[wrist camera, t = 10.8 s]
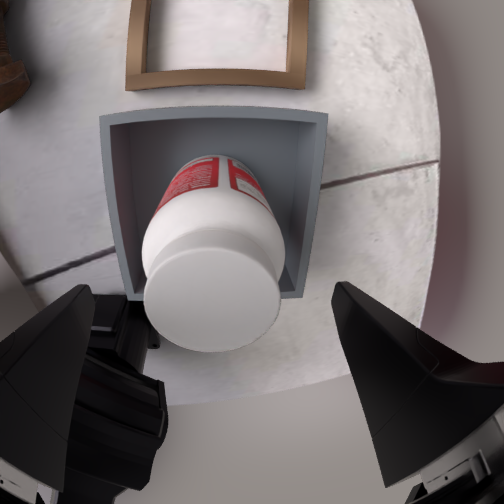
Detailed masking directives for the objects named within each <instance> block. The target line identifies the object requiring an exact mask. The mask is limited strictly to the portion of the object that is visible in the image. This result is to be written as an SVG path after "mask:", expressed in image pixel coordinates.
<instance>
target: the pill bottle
mask: <svg viewBox="0 0 504 504" xmlns="http://www.w3.org/2000/svg"><path fill="white" fill-rule="evenodd" d="M142 261H143V267H144V271H145V274H146V277H147V282H146V285H145V289H144V307H145V311H146V314H147V317H148V319H149V320H150V322H151V324H152V325H153V327H154V328H155V329H156V330H157V331H158V332H159V333H160V334H161V335H162V336H163V337H165V338H166V339H167V340H169V341H170V342H172V343H174V344H176V345H178V346H181V347H183V348H186V349H190V350H194V351H199V352H225V351H230V350H235V349H238V348H241V347H244V346H246V345H248V344H250V343H252V342H254V341H256V340H257V339H259V338H260V337H261V336H262V335H264V334H265V333H266V332H267V331H268V330H269V329H270V327H271V326H272V325H273V323H274V322H275V320H276V318H277V316H278V313H279V310H280V304H281V295H280V289H279V285H278V281H279V279H280V276H281V274H282V271H283V267H284V261H285V247H284V240H283V237H282V234H281V230H280V227H279V225H278V224H277V222H276V219H275V217H274V215H273V213H272V211H271V209H270V207H269V204H268V202H267V200H266V198H265V196H264V194H263V191H262V189H261V187H260V185H259V183H258V181H257V179H256V177H255V176H254V174H253V173H252V172H251V171H250V169H249V168H248V167H247V166H245V165H244V164H243V163H241V162H240V161H238V160H236V159H234V158H231V157H228V156H224V155H207V156H202V157H199V158H196V159H194V160H192V161H190V162H188V163H187V164H186V165H184V166H183V167H182V168H181V169H180V170H179V171H178V172H177V174H176V175H175V176H174V178H173V179H172V181H171V183H170V185H169V187H168V189H167V190H166V192H165V194H164V196H163V198H162V200H161V202H160V204H159V206H158V208H157V209H156V212H155V213H154V215H153V217H152V219H151V221H150V223H149V226H148V228H147V230H146V233H145V236H144V240H143V246H142Z"/></svg>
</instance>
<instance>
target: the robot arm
mask: <svg viewBox="0 0 504 504" xmlns="http://www.w3.org/2000/svg"><path fill="white" fill-rule="evenodd" d="M331 305H332V309H333V313H334V318H335V322H336V326H337V330H338V335H339V339H340V342H341V345H342V348H343V351H344V353H345V356H346V359H347V362H348V365H349V368H350V371H351V374H352V376H353V380H354V383H355V386H356V389H357V392H358V395H359V398H360V401H361V404H362V407H363V411H364V414H365V417H366V421H367V424H368V427H369V431H370V434H371V437H372V441H373V444H374V448H375V452H376V455H377V459H378V463H379V466H380V470H381V474H382V478H383V481H384V485H385V488H388V487H390V486H393V485H395V484H397V483H400V482H402V481H405V480H407V479H409V478H411V477H414V476H416V475H418V474H420V475H421V478H422V481H423V482H422V483H420V484H418V485H416V486H414V487H413V488H412V490H411V492H410V494H409V496H408V498H407V500H406V502H405V504H504V362H493V363H478V362H474V361H471V360H469V359H468V358H466V357H464V356H462V355H461V354H459V353H457V352H456V351H454V350H452V349H450V348H449V347H447V346H445V345H444V344H442V343H440V342H439V341H437V340H435V339H434V338H432V337H431V336H429V335H428V334H426V333H425V332H423V331H421V330H420V329H419V328H416V326H414V325H413V324H411V323H410V322H408V321H407V320H405V319H404V318H402V317H401V316H399V315H398V314H396V313H395V312H393V311H392V310H390V309H389V308H387V307H386V306H384V305H383V304H381V303H380V302H378V301H377V300H375V299H374V298H372V297H371V296H369V295H368V294H366V293H365V292H363V291H362V290H360V289H358V288H357V287H355V286H354V285H352V284H351V283H349V282H347V281H343V282H337V283H336V285H335V288H334V292H333V296H332V300H331ZM159 347H160V340H159V337H158V333H157V330H156V329H155V328H154V327H153V325H152V324H151V322H150V320H149V319H148V317H147V314H146V311H145V307H144V302H142V301H131V300H128V298H127V296H122V295H92V292H91V289H90V287H89V286H88V285H87V284H79V285H77V286H75V287H74V288H72V289H71V290H70V291H68V292H67V293H65V294H64V295H62V296H61V297H60V298H58V299H57V300H55V301H54V302H53V303H51V304H50V305H48V306H47V307H46V308H44V309H43V310H42V311H40V312H39V313H38V314H36V315H35V316H34V317H32V318H31V319H30V320H28V321H27V322H26V323H24V324H23V325H22V326H20V327H19V328H18V329H17V330H15V332H13V333H11V334H10V335H9V336H8V337H6V338H5V339H4V340H2V341H1V342H0V504H45V503H44V501H43V500H42V498H41V496H40V494H39V493H38V492H37V488H38V483H40V484H42V485H44V486H47V487H49V488H51V489H52V495H51V501H50V504H114V501H115V498H116V497H117V496H118V495H120V494H121V493H123V492H124V491H126V490H127V489H128V488H130V489H134V490H138V491H140V490H142V489H143V488H144V487H145V486H146V485H147V483H148V482H149V480H150V475H151V469H152V464H153V460H154V457H155V454H156V451H157V449H159V448H160V447H161V445H162V443H163V442H164V439H165V436H166V433H167V428H168V412H167V404H166V396H165V387H164V382H162V381H160V380H155V379H152V378H150V377H148V376H145V375H143V369H144V363H145V358H146V353H147V348H148V349H158V348H159Z"/></svg>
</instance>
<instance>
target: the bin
mask: <svg viewBox="0 0 504 504" xmlns="http://www.w3.org/2000/svg"><path fill="white" fill-rule="evenodd" d="M99 118H100V138H101V152H102V163H103V173H104V181H105V189H106V196H107V203H108V210H109V216H110V222H111V228H112V233H113V238H114V243H115V248H116V253H117V258H118V262H119V267H120V271H121V275H122V279H123V283H124V287H125V291H126V295H127V298H128V300H131V301H144V289H145V285H146V282H147V277H146V274H145V271H144V267H143V261H142V246H143V240H144V236H145V233H146V230H147V228H148V226H149V223H150V221H151V219H152V217H153V215H154V213H155V212H156V209H157V208H158V206H159V204H160V202H161V200H162V198H163V196H164V194H165V192H166V190H167V189H168V187H169V185H170V183H171V181H172V179H173V178H174V176H175V175H176V174H177V172H178V171H179V170H180V169H181V168H182V167H183V166H184V165H186V164H187V163H188V162H190V161H192V160H194V159H196V158H199V157H202V156H207V155H224V156H228V157H231V158H234V159H236V160H238V161H240V162H241V163H243V164H244V165H245V166H247V167H248V168H249V169H250V171H251V172H252V173H253V174H254V176H255V177H256V179H257V181H258V183H259V185H260V187H261V189H262V191H263V194H264V196H265V198H266V200H267V202H268V204H269V207H270V209H271V211H272V213H273V215H274V217H275V219H276V222H277V224H278V225H279V227H280V230H281V234H282V237H283V240H284V247H285V261H284V267H283V271H282V274H281V276H280V279H279V281H278V285H279V289H280V295H281V299H286V298H302V297H303V292H304V287H305V281H306V276H307V270H308V264H309V259H310V253H311V247H312V241H313V234H314V228H315V221H316V215H317V208H318V200H319V193H320V186H321V178H322V170H323V161H324V152H325V143H326V133H327V123H328V114H327V113H321V112H314V111H307V110H297V109H287V108H274V107H256V106H186V107H169V108H156V109H145V110H136V111H128V112H121V113H114V114H109V115H103V116H99Z"/></svg>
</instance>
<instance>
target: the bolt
mask: <svg viewBox="0 0 504 504" xmlns="http://www.w3.org/2000/svg"><path fill="white" fill-rule="evenodd" d="M8 9H9V2H8V0H0V113H1V112H3V111H4V110H6V109H7V108H9V107H10V106H12V105H13V104H14V103H15V102H16V101H17V100H19V99H20V98H21V97H22V96H23V95H24V93H25V92H26V91H27V89H28V87H29V86H30V84H31V83H30V79H29V76H28V73H27V71H26V68H25V66H24V64H23V62H22V60H19V61H16V62H14V63H13V61H12V57H11V56H10V53H9V49H8V44H7V39H6V33H5V27H4V20H3V16H4V15H5V13H6V12H7V10H8Z"/></svg>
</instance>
